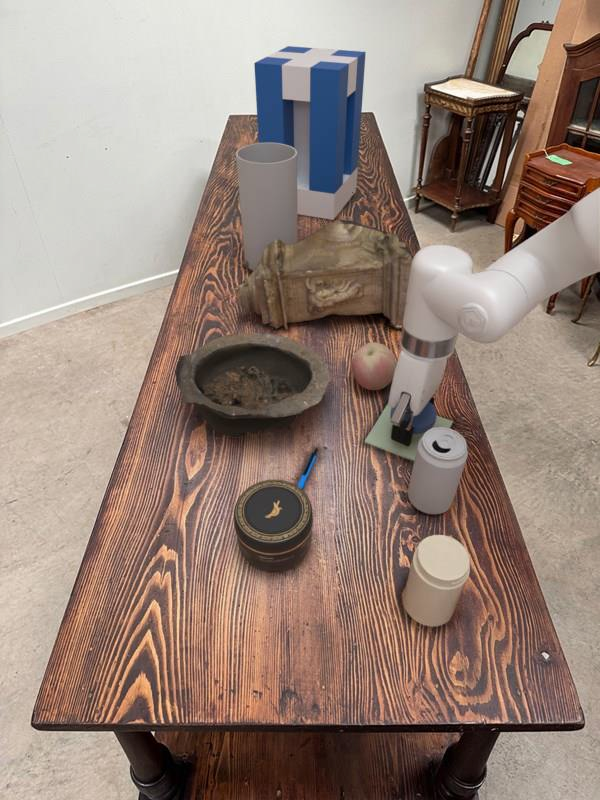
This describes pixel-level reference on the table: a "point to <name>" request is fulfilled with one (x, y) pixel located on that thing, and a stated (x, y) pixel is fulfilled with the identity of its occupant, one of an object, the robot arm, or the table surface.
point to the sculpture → (330, 276)
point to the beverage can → (437, 470)
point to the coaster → (382, 440)
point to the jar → (273, 525)
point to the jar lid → (421, 418)
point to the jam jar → (436, 580)
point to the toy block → (314, 120)
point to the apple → (373, 366)
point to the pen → (307, 469)
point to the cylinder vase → (267, 197)
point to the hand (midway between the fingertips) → (411, 426)
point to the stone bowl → (251, 382)
